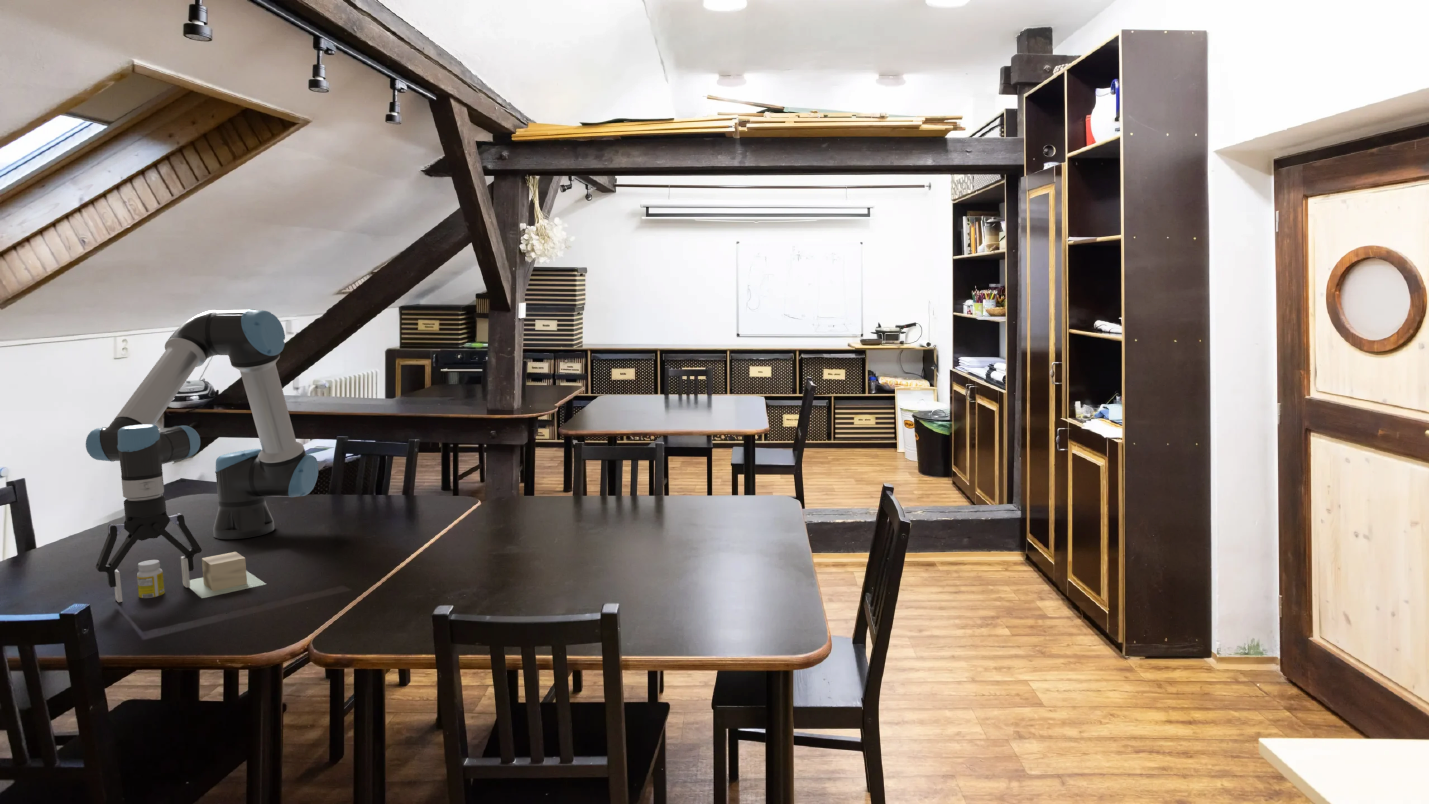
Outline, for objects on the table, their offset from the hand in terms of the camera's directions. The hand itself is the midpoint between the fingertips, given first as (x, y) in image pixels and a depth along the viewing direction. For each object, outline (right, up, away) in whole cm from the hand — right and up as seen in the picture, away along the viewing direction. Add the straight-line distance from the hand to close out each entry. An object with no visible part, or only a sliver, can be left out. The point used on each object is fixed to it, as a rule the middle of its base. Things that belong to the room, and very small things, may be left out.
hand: (153, 593), depth 190 cm
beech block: (+12, +1, +6) cm, 14 cm away
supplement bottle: (0, -2, 0) cm, 2 cm away
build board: (+11, 0, +7) cm, 14 cm away
